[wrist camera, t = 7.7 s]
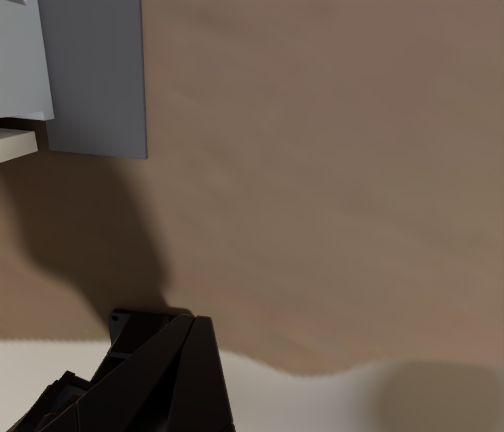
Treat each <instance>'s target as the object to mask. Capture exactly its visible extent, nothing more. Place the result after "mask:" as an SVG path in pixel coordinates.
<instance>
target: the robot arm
mask: <svg viewBox="0 0 504 432" xmlns="http://www.w3.org/2000/svg"><path fill="white" fill-rule="evenodd" d="M116 316H117V317H116ZM108 318H109V327H110V336H111V347H110V349H109V350H108V352H107V355H106V356H105V358H104V359H103V361H102V363H101V364H100V366H99V368H98V369H97V371H96V372H95V374H94V376H93V377H92V379H91V381H87V380H85V379H82V378H80V377H78V376H75V373H72V372H70V371H66V372H65V373H64V375H63V376H62V377H61V378H60V379H59V381H58V380H56V381H55V382H54V383H53V384H52V385H48V386H47V388H46V389H45V391H44V392H43V393H42V394H41V396H40V397H39V399H38V400H37V401H36V402H35V404H34V405H33V406H32V407H31V409H30V410H29V411H28V412H27V413H26V414H25V415H24V416H23V417H22V418H21V419H19V420H18V421H17V422H16V423H15V424H14V425H13V426H12V427H11V428H10V429H9V430H8V431H6V432H236V431H235V426H234V424H233V417H232V413H231V408H230V403H229V398H228V394H227V389H226V384H225V380H224V375H223V370H222V366H221V361H220V356H219V351H218V346H217V342H216V337H215V332H214V328H213V323H212V319H211V317H207V316H196V317H195V316H194V315H189V314H180V315H178V316H170V315H162V314H153V313H144V312H136V311H127V310H118V309H114V310H112V312H111V313H110V314H109V317H108Z"/></svg>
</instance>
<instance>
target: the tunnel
mask: <svg viewBox="0 0 504 432" xmlns="http://www.w3.org/2000/svg"><path fill="white" fill-rule="evenodd" d="M37 1H38V8H39V15H40V21H41V28H42V35H43V42H44V49H45V56H46V63H47V70H48V77H49V84H50V91H51V98H52V105H53V112H54V119H49V120H45V122H46V128H47V135H48V141H49V147H50V150H53V151H63V152H73V153H83V154H93V155H103V156H113V157H123V158H133V159H144V160H146V159H148V156H147V132H146V107H145V82H144V57H143V33H142V8H141V0H37ZM36 151H38V149H37V143H36V137H35V131H25V130H15V129H5V128H0V163H1V162H4V161H7V160H11V159H14V158H17V157H20V156H23V155H26V154H30V153H33V152H36Z"/></svg>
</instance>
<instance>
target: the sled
mask: <svg viewBox="0 0 504 432" xmlns="http://www.w3.org/2000/svg"><path fill="white" fill-rule="evenodd" d="M2 117H14V118H24V119H35V120H49V119H54V112H53V105H52V98H51V91H50V84H49V77H48V70H47V63H46V56H45V49H44V42H43V35H42V28H41V21H40V15H39V8H38V1H37V0H0V118H2Z"/></svg>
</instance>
